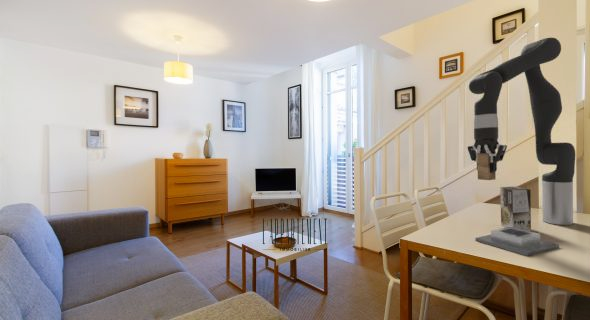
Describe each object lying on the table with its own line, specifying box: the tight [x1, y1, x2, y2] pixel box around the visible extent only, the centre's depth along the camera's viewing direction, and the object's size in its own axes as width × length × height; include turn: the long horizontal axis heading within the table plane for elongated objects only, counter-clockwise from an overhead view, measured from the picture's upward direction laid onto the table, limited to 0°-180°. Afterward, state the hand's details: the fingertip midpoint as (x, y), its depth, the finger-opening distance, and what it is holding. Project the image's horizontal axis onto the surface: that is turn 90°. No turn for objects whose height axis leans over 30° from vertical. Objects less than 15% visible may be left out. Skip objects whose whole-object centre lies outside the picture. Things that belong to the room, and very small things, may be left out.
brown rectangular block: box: [476, 152, 497, 181], centre depth 104 cm, size 4×4×10 cm
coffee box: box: [499, 186, 532, 232], centre depth 109 cm, size 9×6×16 cm
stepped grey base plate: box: [474, 227, 560, 257], centre depth 92 cm, size 16×16×4 cm
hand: (486, 172), depth 104 cm, fingers closed on brown rectangular block, 4 cm apart
